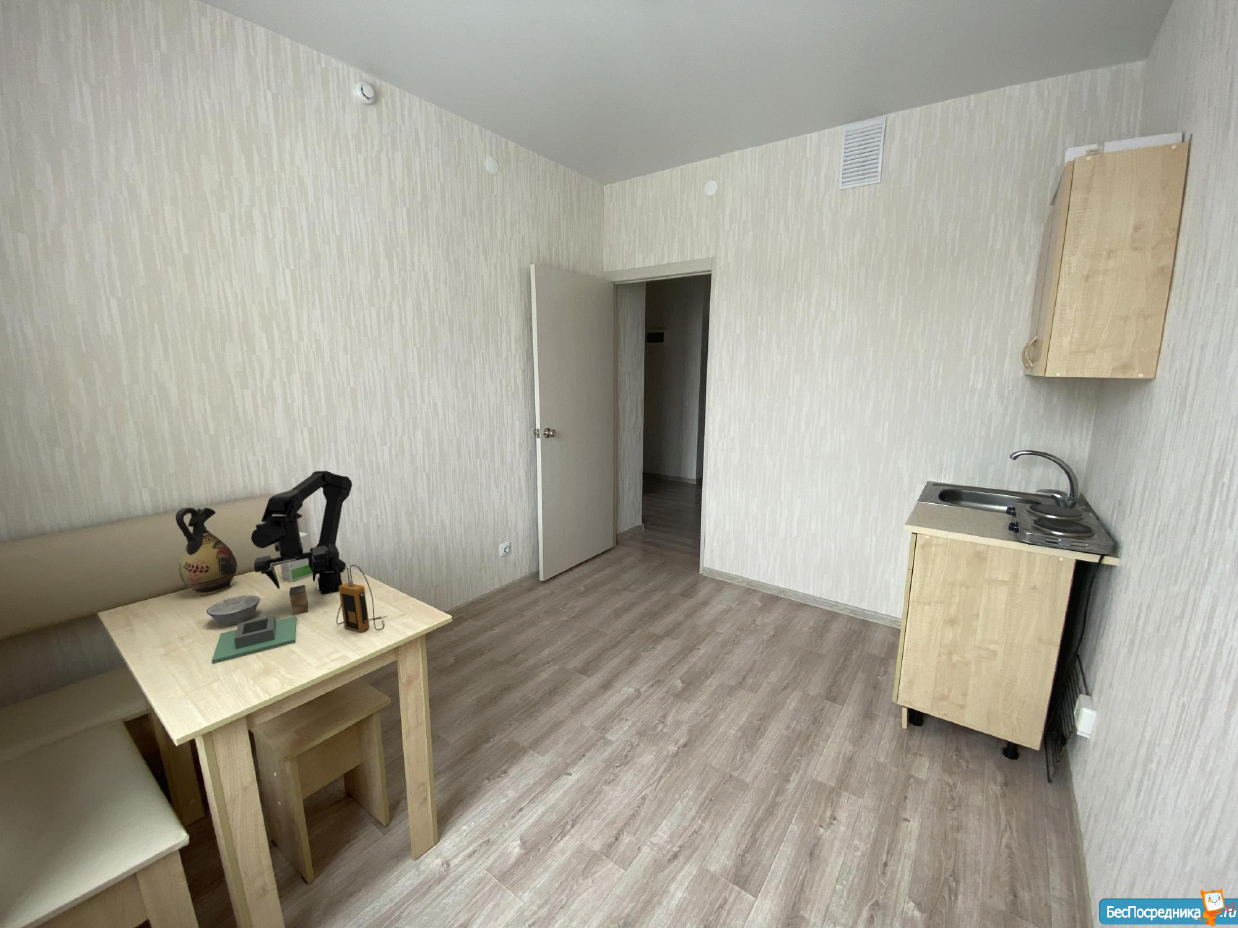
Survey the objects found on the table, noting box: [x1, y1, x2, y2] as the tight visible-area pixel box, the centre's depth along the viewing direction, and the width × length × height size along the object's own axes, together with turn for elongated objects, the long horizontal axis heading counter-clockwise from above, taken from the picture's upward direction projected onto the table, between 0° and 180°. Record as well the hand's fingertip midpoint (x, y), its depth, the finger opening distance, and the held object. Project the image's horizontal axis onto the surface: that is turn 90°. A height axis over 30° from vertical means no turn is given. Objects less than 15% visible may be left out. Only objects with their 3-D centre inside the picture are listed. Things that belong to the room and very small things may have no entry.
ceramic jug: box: [175, 507, 238, 596], centre depth 173 cm, size 17×15×30 cm
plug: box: [288, 584, 309, 617], centre depth 158 cm, size 4×6×7 cm
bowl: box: [206, 594, 261, 626], centre depth 154 cm, size 13×13×5 cm
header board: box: [211, 614, 297, 665], centre depth 141 cm, size 18×16×4 cm
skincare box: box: [278, 531, 313, 583], centre depth 184 cm, size 8×7×16 cm
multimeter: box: [335, 562, 387, 633], centre depth 147 cm, size 15×10×20 cm
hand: (296, 584), depth 157 cm, fingers open, 9 cm apart
